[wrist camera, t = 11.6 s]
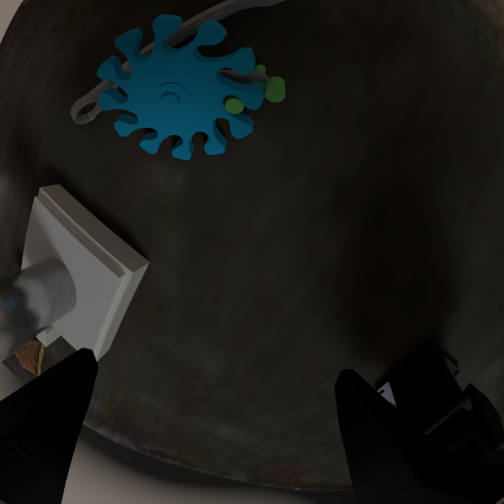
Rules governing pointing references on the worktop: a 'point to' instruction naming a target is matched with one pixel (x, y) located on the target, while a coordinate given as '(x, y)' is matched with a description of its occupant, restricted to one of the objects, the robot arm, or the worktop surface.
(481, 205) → the worktop surface
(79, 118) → the combination wrench
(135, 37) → the gear
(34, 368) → the shard
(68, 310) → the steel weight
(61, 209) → the kitchen scale
